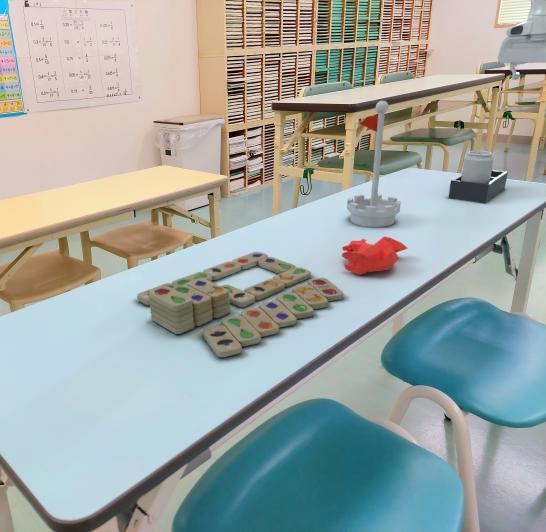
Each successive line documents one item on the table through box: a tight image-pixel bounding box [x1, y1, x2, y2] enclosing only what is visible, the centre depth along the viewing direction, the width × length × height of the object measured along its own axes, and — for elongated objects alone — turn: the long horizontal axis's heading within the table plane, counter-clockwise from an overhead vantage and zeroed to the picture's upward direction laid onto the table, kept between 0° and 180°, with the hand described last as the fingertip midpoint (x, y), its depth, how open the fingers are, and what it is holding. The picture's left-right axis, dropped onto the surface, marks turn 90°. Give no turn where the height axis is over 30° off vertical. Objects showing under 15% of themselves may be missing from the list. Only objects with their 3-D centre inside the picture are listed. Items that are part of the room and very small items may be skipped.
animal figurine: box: [341, 236, 409, 276], centre depth 108 cm, size 12×15×5 cm
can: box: [461, 150, 495, 184], centre depth 150 cm, size 8×8×12 cm
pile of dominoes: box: [136, 251, 344, 358], centre depth 95 cm, size 35×27×6 cm
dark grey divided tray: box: [448, 169, 509, 204], centre depth 154 cm, size 10×19×5 cm, turn 138°
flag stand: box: [346, 100, 402, 228], centre depth 130 cm, size 13×13×30 cm
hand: (533, 79), depth 151 cm, fingers open, 8 cm apart
